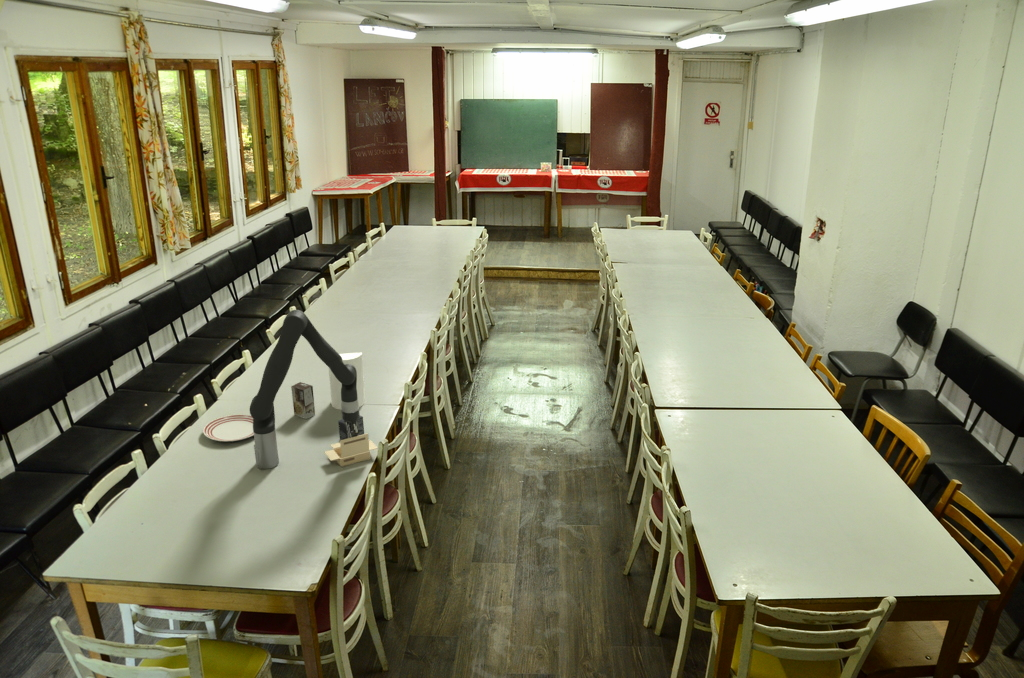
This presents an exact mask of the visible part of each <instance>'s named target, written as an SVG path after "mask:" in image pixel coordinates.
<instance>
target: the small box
mask: <svg viewBox="0 0 1024 678" xmlns="http://www.w3.org/2000/svg"><path fill="white" fill-rule="evenodd" d="M337 422H338V434H339V441H340V440H344V439H347V438H350V435H349V432H347V429H346V426H345V422H344V420H343V418H342V419H340V420H337ZM356 422H357V429H359V433H358V436H359V435H363V434H365V428H364V427H365V426H364V417H363V416H362V415H360V414H359V418H358V419H357V420H356Z"/></svg>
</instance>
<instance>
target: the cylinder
mask: <svg viewBox="0 0 1024 678" xmlns="http://www.w3.org/2000/svg"><path fill="white" fill-rule="evenodd" d="M338 354H339V355H340V356H341V357H342V361H343V363H344V364H345V365H346V364H351V365H353V366H354V367H355V368H356V372H357V385H356V387H357V397H358V403H359V408H361V407H363V406H364V405H365V404H366V394H365V392H366V391H365V380H364V379H365V378H364V360H363V352H347V353H346V352H345V353H338ZM328 375H329V389H330V398H331V406H332V407H333V409H337V410H341V411H342V408H341V388H342V383H341V382H339V381H338V380H337V378H336V377H335V375H334V374H333V373H332V371H331V369H330V368H329V367H328Z"/></svg>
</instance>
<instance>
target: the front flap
mask: <svg viewBox="0 0 1024 678" xmlns="http://www.w3.org/2000/svg"><path fill="white" fill-rule="evenodd" d="M369 440H370V439H369V433H364V434H363V435H359V436H355V437H351V438H347V439H344V440H340V439H339V443H340V445H341V458H346V457H349V456H353V455H357V454H361V453H364V452H368V451H369Z"/></svg>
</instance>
